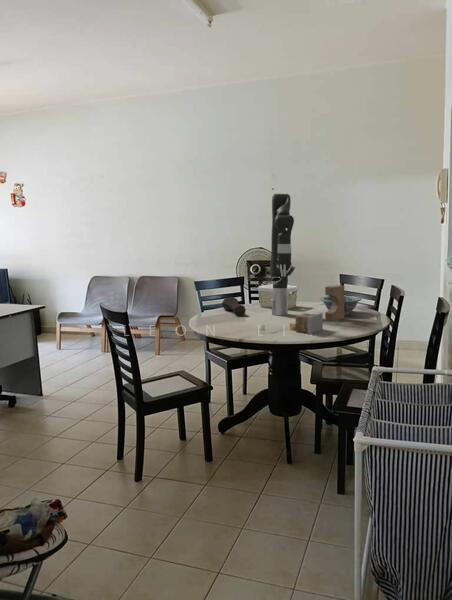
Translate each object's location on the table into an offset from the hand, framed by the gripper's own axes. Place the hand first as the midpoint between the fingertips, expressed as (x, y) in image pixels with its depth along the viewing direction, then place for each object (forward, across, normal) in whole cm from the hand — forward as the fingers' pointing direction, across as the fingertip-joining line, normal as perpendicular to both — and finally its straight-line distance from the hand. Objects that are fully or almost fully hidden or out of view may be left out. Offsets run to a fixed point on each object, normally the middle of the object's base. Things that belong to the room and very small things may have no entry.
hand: (284, 282), depth 268 cm
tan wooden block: (+24, +13, -6) cm, 28 cm away
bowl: (+25, +12, +48) cm, 56 cm away
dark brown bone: (+26, -50, +19) cm, 59 cm away
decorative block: (+25, +18, +28) cm, 41 cm away
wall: (+24, +22, -6) cm, 33 cm away
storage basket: (+26, -36, +51) cm, 68 cm away
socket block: (+24, +17, -6) cm, 30 cm away
